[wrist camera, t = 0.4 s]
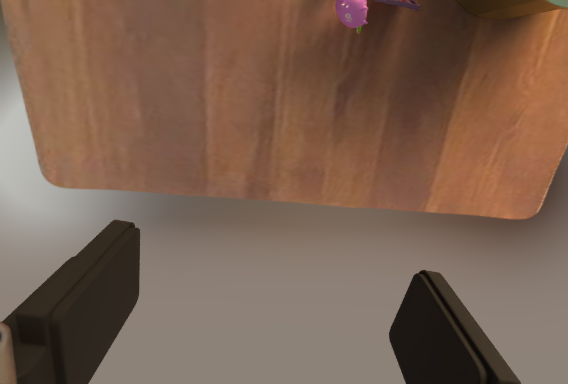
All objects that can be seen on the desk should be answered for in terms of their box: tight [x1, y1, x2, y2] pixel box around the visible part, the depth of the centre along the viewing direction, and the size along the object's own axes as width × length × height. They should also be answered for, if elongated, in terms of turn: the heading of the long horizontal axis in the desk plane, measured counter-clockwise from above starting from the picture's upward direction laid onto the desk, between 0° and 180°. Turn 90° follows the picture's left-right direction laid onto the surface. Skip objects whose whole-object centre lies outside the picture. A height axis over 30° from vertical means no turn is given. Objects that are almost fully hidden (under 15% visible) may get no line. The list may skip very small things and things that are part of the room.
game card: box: [336, 0, 420, 33], centre depth 32 cm, size 7×5×9 cm
